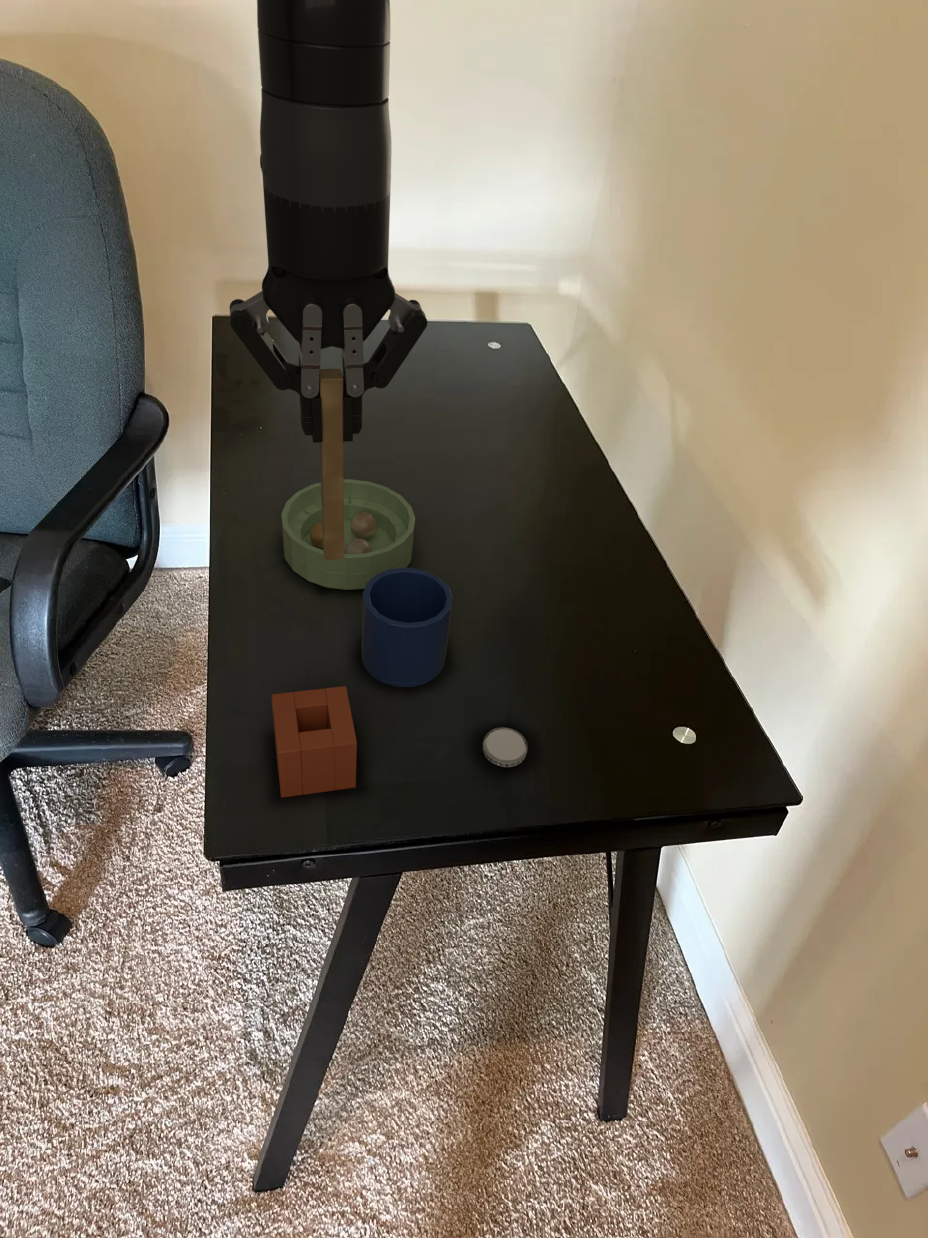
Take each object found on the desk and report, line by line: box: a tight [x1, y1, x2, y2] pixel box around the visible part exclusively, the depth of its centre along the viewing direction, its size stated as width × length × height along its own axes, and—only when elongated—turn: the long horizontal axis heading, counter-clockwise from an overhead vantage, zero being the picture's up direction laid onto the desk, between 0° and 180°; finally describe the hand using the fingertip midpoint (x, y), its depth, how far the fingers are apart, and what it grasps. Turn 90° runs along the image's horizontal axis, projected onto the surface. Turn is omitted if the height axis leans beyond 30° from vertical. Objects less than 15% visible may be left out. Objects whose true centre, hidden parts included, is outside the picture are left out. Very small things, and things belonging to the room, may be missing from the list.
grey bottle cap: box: [482, 727, 529, 768], centre depth 74 cm, size 4×4×1 cm
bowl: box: [280, 478, 416, 591], centre depth 91 cm, size 14×14×5 cm
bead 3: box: [345, 538, 373, 554], centre depth 89 cm, size 3×3×3 cm
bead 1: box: [310, 522, 323, 549], centre depth 91 cm, size 3×3×3 cm
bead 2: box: [351, 512, 377, 539], centre depth 93 cm, size 3×3×3 cm
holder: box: [270, 685, 358, 799], centre depth 69 cm, size 6×6×6 cm
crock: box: [360, 567, 454, 688], centre depth 79 cm, size 8×8×8 cm
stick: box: [319, 368, 345, 560], centre depth 63 cm, size 2×2×16 cm
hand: (331, 435), depth 61 cm, fingers closed on stick, 1 cm apart
